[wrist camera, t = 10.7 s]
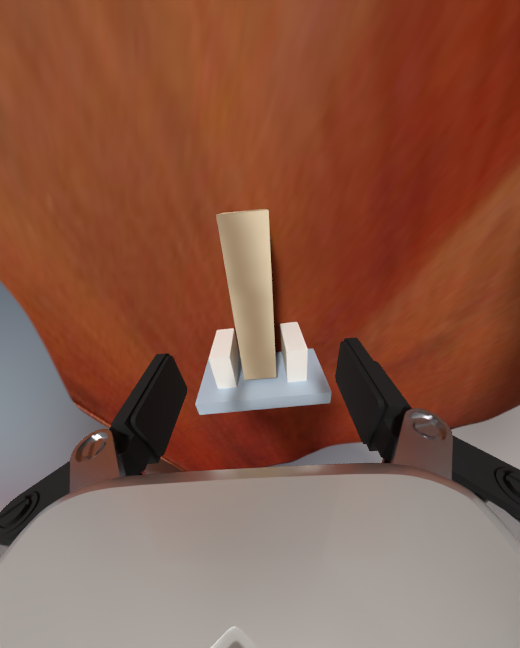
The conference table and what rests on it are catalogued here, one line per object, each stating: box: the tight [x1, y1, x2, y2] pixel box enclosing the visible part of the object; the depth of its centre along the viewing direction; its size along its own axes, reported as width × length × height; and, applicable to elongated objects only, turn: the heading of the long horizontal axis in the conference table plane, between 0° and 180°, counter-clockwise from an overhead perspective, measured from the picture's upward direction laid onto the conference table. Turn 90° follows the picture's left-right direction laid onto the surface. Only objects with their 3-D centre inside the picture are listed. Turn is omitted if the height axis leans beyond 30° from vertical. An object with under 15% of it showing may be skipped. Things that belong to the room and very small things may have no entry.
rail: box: [216, 209, 277, 380], centre depth 22 cm, size 4×18×6 cm, turn 5°
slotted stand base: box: [195, 322, 331, 415], centre depth 25 cm, size 7×16×8 cm, turn 96°
